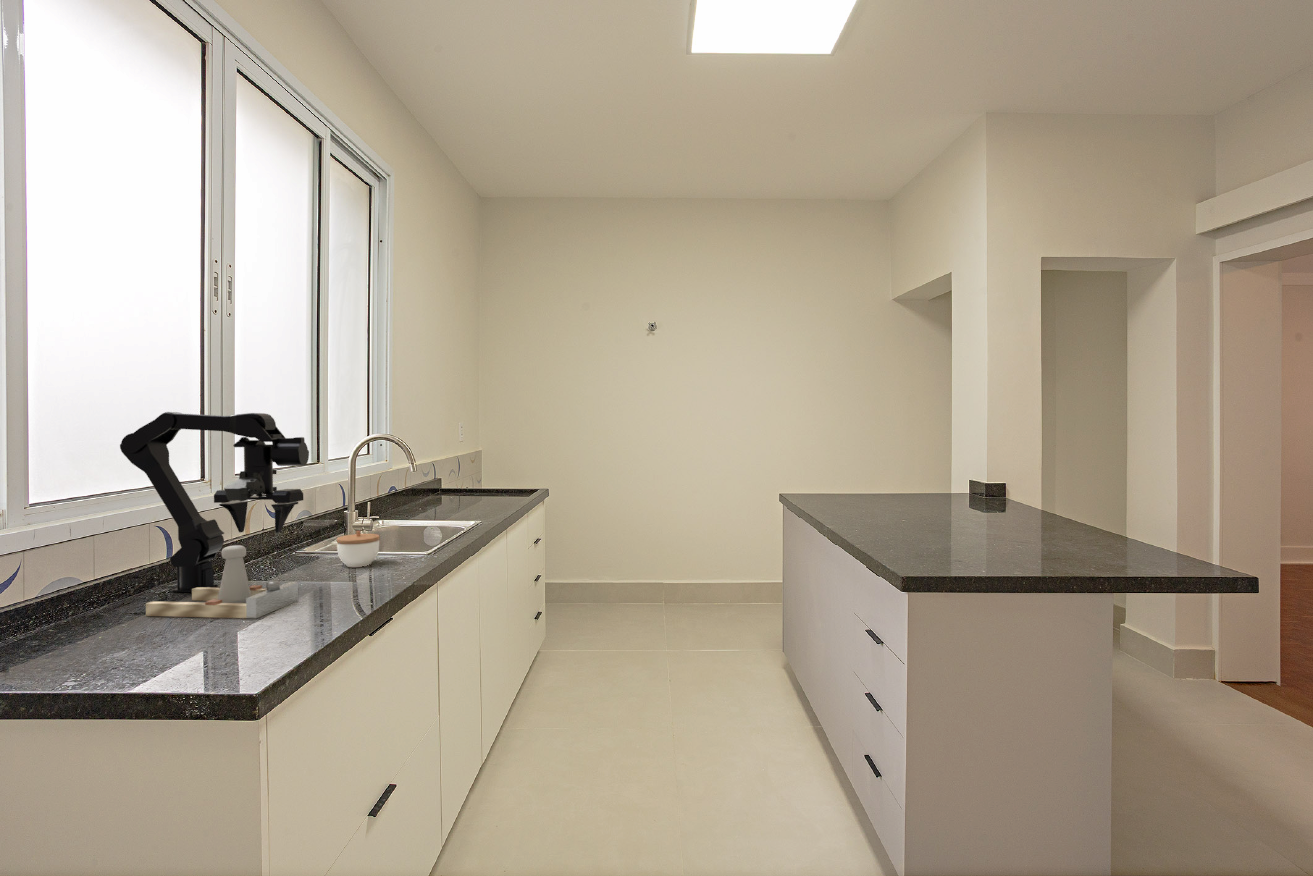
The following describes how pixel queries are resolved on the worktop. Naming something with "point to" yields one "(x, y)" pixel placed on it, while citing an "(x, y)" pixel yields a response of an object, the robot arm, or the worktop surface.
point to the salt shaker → (234, 576)
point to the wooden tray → (253, 608)
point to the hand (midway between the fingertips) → (259, 532)
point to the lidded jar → (358, 549)
